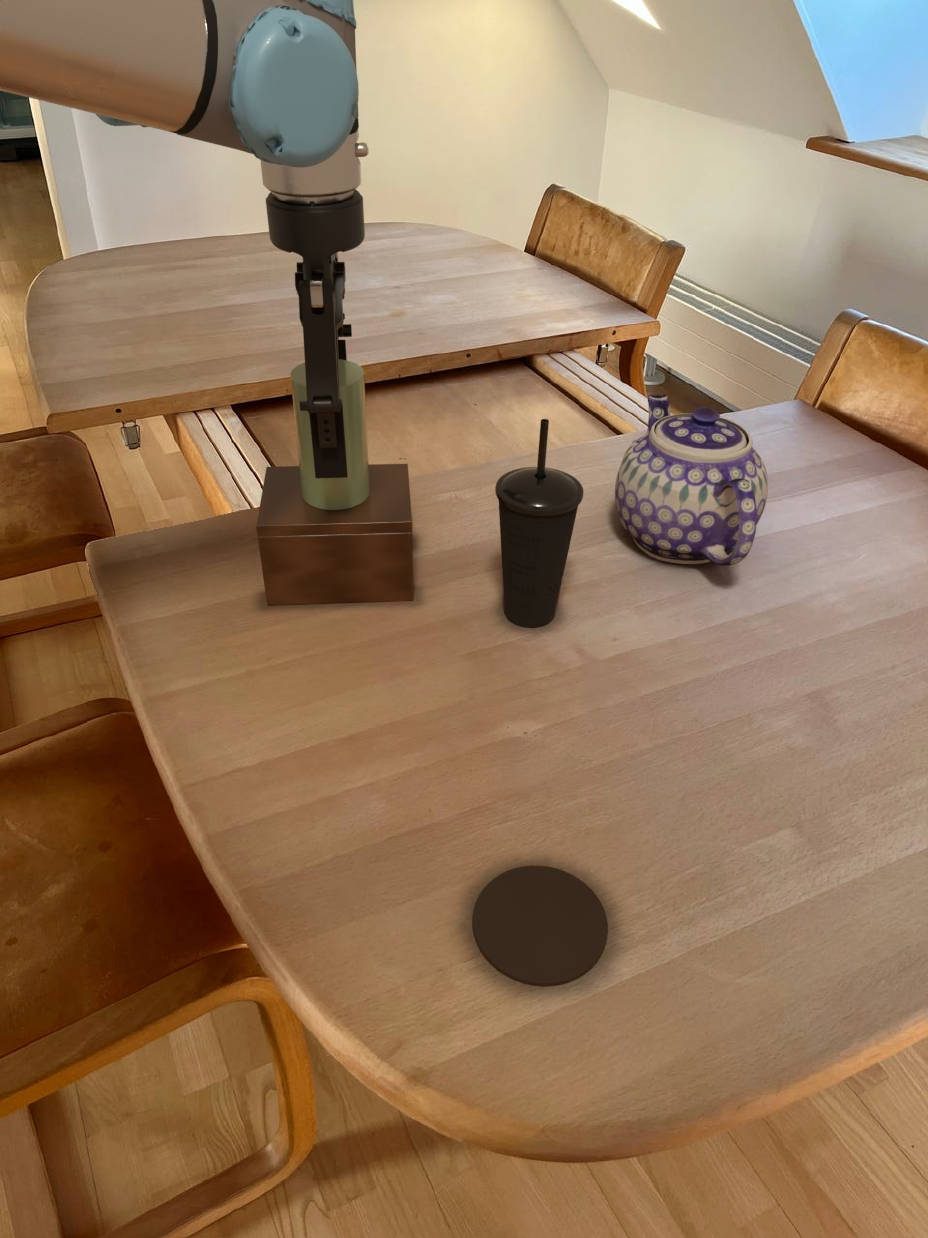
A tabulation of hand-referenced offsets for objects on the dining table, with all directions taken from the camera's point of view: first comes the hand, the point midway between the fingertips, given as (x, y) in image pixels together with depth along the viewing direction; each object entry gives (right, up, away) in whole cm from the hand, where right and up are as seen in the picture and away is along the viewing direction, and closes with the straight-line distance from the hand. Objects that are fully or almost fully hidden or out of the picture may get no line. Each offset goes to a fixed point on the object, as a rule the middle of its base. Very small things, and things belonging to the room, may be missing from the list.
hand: (333, 439), depth 86 cm
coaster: (+17, -37, -23) cm, 47 cm away
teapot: (+35, -8, +15) cm, 39 cm away
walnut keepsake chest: (0, -12, +9) cm, 15 cm away
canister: (0, -4, +3) cm, 6 cm away
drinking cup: (+18, -16, +4) cm, 25 cm away
